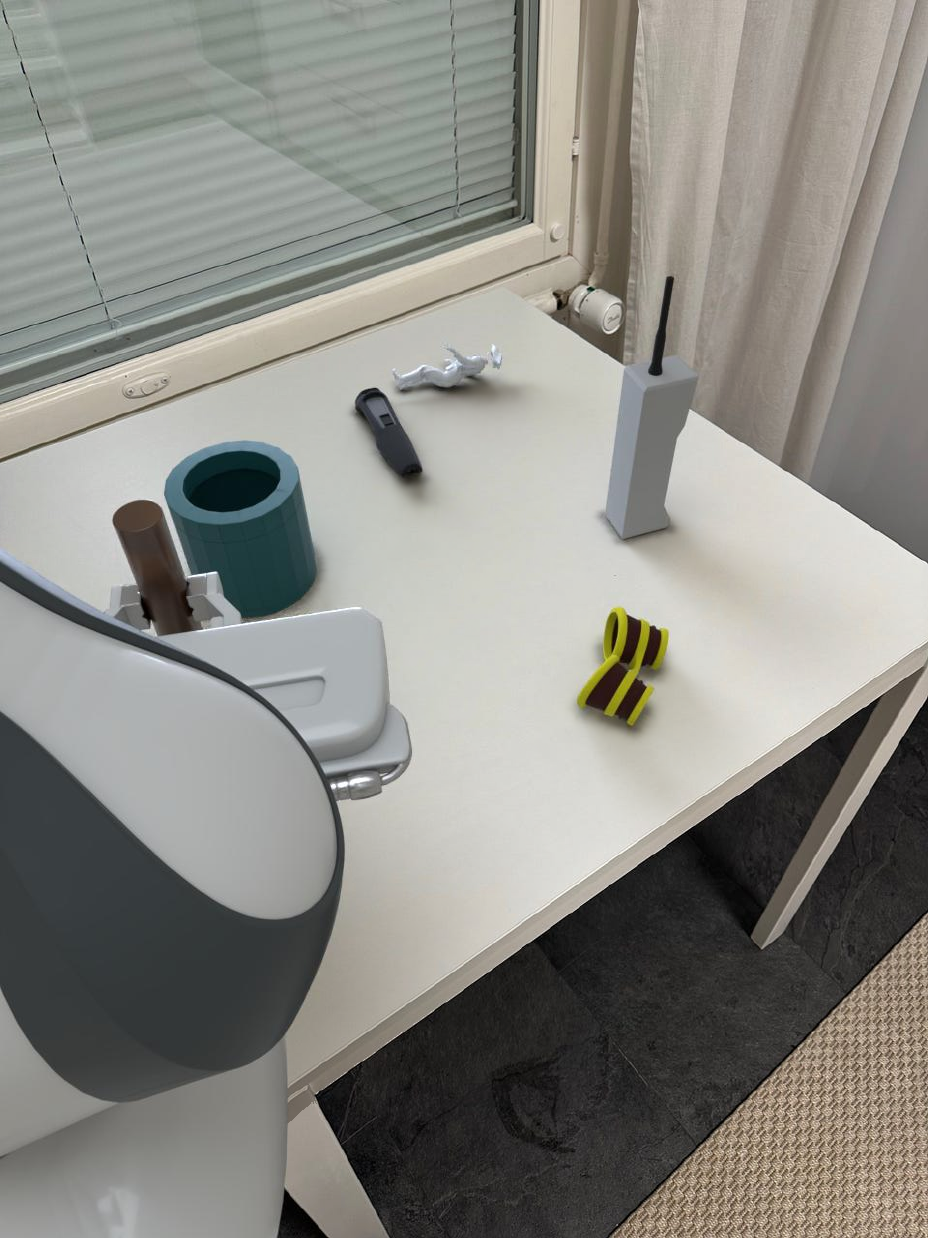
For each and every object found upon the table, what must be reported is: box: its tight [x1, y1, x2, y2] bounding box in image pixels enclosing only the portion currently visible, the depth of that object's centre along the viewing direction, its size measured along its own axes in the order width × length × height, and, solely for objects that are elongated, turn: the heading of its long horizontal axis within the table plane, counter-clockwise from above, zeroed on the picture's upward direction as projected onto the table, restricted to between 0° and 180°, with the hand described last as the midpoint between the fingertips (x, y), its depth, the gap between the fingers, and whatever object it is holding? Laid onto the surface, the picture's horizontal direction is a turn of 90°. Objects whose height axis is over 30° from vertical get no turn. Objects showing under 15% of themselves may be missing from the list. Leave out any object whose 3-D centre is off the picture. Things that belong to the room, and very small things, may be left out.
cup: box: [163, 439, 317, 619], centre depth 78 cm, size 11×11×11 cm
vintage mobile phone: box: [604, 275, 699, 540], centre depth 77 cm, size 4×5×25 cm
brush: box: [111, 499, 204, 637], centre depth 47 cm, size 5×5×20 cm
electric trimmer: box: [354, 387, 423, 478], centre depth 94 cm, size 4×16×3 cm, turn 21°
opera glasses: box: [576, 606, 670, 727], centre depth 71 cm, size 10×5×5 cm, turn 159°
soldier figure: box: [392, 343, 503, 391], centre depth 101 cm, size 8×5×12 cm
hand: (168, 587), depth 44 cm, fingers closed on brush, 2 cm apart
